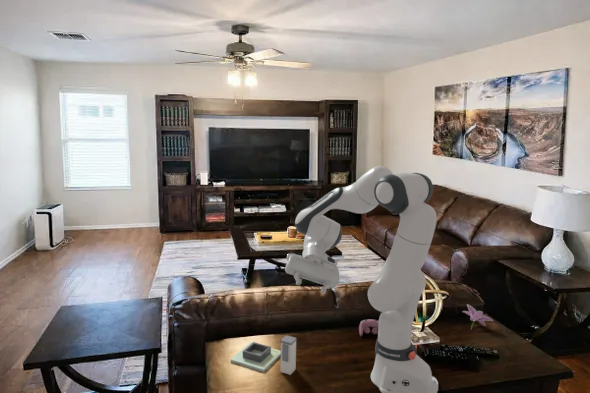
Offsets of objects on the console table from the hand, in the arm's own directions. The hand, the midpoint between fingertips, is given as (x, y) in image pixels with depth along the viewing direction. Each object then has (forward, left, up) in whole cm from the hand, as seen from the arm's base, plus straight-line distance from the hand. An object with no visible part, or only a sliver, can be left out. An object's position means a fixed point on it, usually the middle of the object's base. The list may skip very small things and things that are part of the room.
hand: (311, 287), depth 164 cm
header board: (+18, +6, -29) cm, 35 cm away
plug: (+4, +8, -29) cm, 30 cm away
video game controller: (-14, -31, -29) cm, 45 cm away
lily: (-52, -60, -29) cm, 84 cm away
